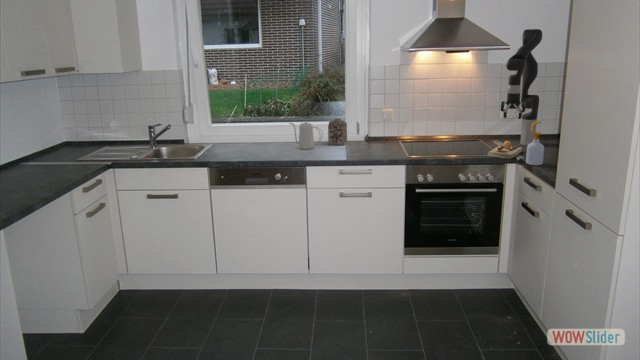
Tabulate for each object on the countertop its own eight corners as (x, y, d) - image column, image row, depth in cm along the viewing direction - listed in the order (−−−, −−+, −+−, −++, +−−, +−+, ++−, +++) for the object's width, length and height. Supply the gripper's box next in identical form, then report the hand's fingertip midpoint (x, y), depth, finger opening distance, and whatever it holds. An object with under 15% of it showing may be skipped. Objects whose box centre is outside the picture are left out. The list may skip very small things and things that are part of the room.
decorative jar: (347, 142, 376) (347, 117, 372) (344, 145, 365) (344, 120, 361) (331, 142, 379) (330, 117, 374) (327, 145, 368) (327, 119, 363)
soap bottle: (544, 165, 295) (548, 122, 289) (527, 165, 297) (530, 122, 291) (541, 161, 304) (544, 120, 297) (524, 161, 306) (527, 119, 299)
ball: (504, 147, 332) (504, 139, 331) (512, 148, 329) (512, 140, 328) (501, 149, 328) (502, 141, 327) (509, 149, 326) (510, 142, 324)
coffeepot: (292, 145, 370) (291, 119, 365) (325, 147, 361) (325, 120, 356) (286, 148, 360) (285, 121, 355) (319, 150, 351) (319, 122, 346)
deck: (499, 149, 340) (500, 143, 339) (522, 151, 332) (522, 145, 331) (487, 156, 322) (488, 150, 321) (510, 158, 314) (511, 152, 313)
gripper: (527, 91, 317) (525, 118, 322) (504, 91, 325) (502, 116, 330) (524, 93, 311) (522, 120, 316) (500, 92, 320) (498, 118, 324)
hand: (512, 118), depth 323 cm, fingers open, 8 cm apart
